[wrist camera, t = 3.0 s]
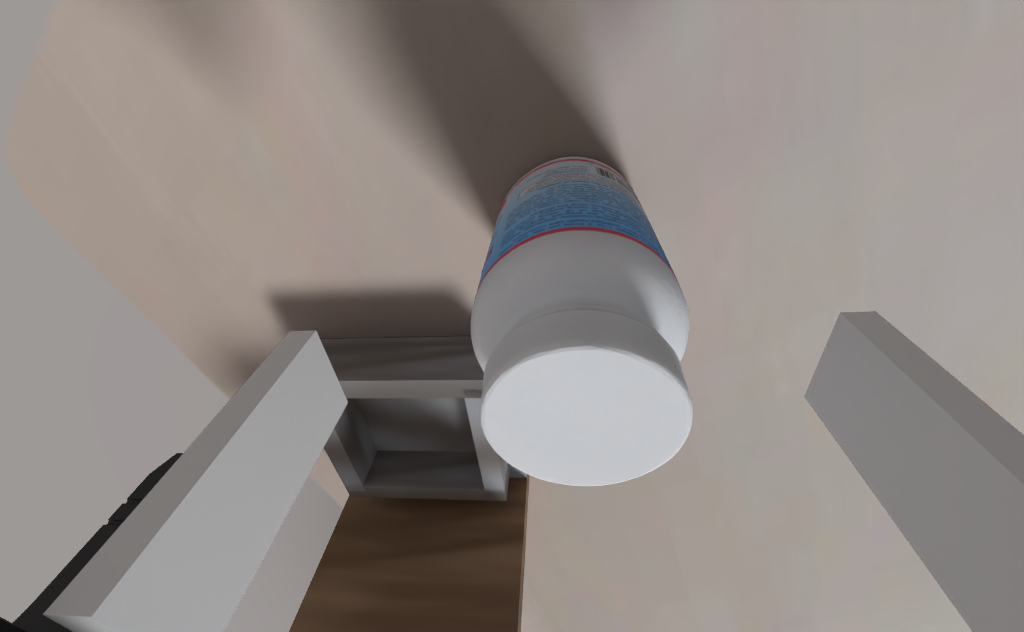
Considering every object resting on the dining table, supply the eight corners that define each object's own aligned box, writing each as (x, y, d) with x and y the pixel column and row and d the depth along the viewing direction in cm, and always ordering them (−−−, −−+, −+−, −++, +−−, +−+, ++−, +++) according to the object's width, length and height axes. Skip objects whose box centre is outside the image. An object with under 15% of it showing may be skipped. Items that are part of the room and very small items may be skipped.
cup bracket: (303, 339, 23) (119, 564, 13) (512, 335, 22) (477, 584, 12) (369, 476, 31) (281, 687, 21) (529, 480, 29) (516, 709, 19)
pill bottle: (474, 194, 18) (386, 373, 8) (609, 124, 16) (688, 258, 6) (536, 302, 21) (520, 522, 11) (657, 254, 18) (759, 475, 9)
